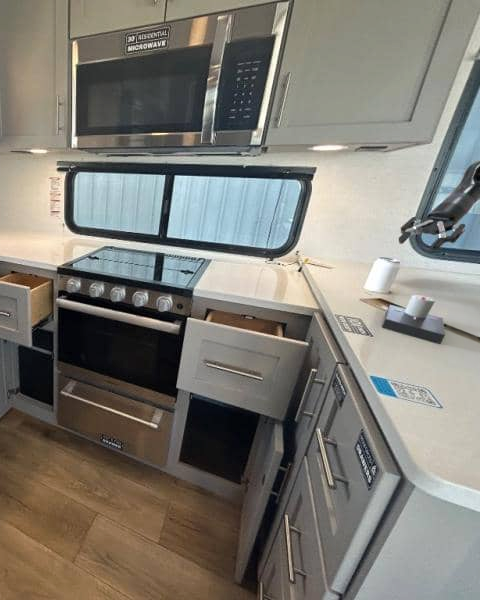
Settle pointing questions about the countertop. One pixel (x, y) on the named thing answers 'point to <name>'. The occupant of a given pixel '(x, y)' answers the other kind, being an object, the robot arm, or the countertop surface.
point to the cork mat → (379, 303)
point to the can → (383, 275)
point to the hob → (414, 324)
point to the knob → (419, 306)
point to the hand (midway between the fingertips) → (415, 245)
